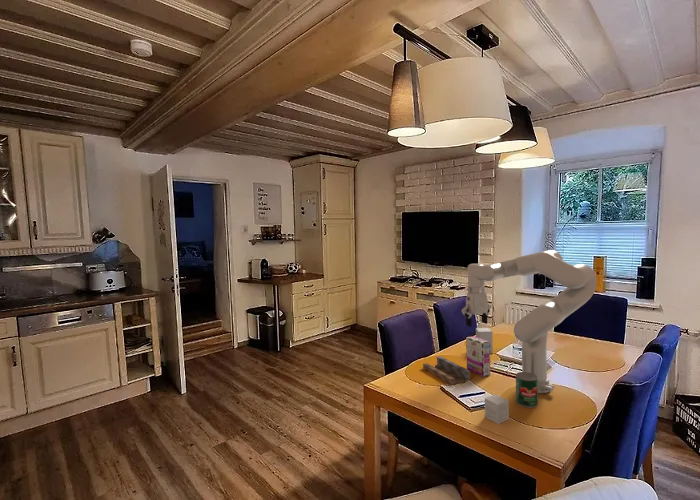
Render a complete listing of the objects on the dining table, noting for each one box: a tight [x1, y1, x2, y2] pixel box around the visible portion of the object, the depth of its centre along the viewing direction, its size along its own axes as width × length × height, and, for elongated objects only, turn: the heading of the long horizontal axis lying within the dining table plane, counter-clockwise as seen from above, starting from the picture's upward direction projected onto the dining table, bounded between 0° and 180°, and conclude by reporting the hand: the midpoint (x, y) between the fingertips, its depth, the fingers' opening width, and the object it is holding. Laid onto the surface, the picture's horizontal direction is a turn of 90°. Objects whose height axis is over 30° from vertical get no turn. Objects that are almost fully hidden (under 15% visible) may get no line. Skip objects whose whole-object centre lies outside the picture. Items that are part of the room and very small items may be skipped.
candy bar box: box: [465, 335, 491, 378], centre depth 175 cm, size 11×5×16 cm, turn 25°
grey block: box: [484, 394, 510, 425], centre depth 134 cm, size 6×6×7 cm
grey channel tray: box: [422, 355, 471, 386], centre depth 175 cm, size 22×11×4 cm, turn 24°
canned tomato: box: [515, 371, 539, 409], centre depth 144 cm, size 8×8×11 cm
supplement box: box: [475, 327, 494, 354], centre depth 203 cm, size 7×7×13 cm
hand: (476, 324), depth 175 cm, fingers open, 9 cm apart
